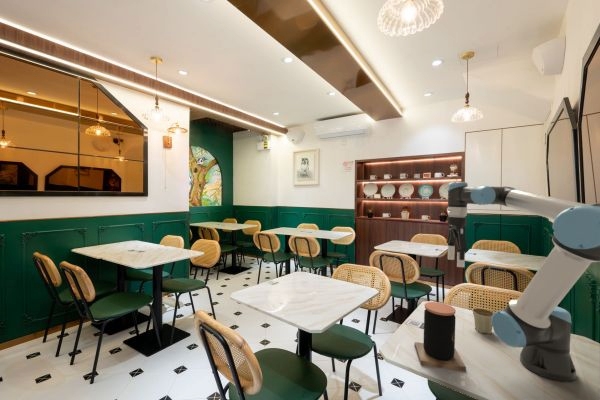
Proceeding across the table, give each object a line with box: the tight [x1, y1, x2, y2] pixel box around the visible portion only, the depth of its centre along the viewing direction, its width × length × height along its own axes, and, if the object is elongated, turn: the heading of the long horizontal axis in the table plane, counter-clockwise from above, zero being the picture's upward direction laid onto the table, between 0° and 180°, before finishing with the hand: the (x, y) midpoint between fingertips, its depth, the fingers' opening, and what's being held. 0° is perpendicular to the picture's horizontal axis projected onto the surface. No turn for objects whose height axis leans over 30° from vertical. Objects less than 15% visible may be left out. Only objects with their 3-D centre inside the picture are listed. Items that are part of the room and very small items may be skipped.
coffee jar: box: [422, 301, 457, 361], centre depth 105 cm, size 11×11×18 cm
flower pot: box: [471, 307, 495, 335], centre depth 126 cm, size 9×9×9 cm
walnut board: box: [414, 341, 467, 372], centre depth 105 cm, size 15×13×2 cm
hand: (455, 263), depth 124 cm, fingers open, 13 cm apart
